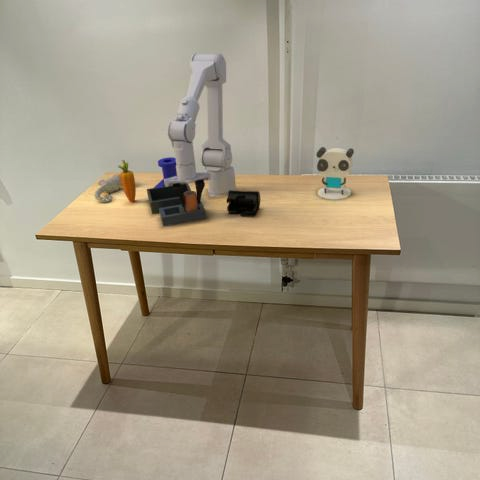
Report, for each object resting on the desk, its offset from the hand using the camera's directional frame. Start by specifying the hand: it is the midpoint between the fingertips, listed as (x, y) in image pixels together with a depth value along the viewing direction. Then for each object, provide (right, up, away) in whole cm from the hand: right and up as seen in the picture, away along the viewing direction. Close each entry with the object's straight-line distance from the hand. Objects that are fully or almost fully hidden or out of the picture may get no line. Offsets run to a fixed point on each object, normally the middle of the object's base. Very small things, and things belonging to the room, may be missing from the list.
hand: (191, 204), depth 151 cm
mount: (-10, +15, +28) cm, 33 cm away
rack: (-3, -4, +2) cm, 6 cm away
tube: (0, -3, +2) cm, 4 cm away
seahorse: (-31, +10, +24) cm, 41 cm away
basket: (-8, +3, +12) cm, 15 cm away
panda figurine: (+48, +7, +12) cm, 50 cm away
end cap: (+17, -2, +4) cm, 18 cm away
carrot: (-22, +4, +15) cm, 27 cm away
